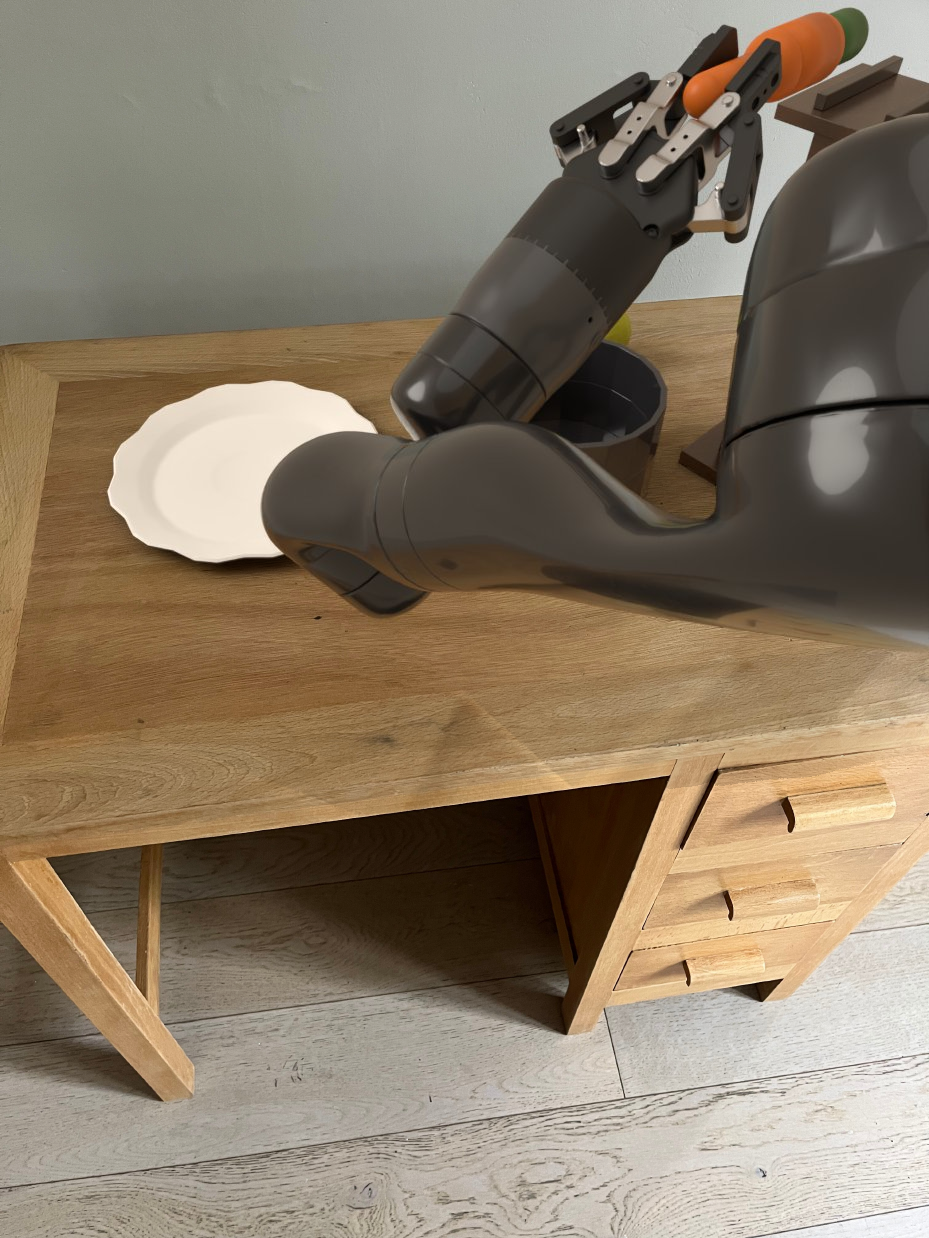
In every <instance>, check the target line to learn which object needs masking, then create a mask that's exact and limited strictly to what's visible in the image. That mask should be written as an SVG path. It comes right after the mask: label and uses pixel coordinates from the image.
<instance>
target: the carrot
mask: <svg viewBox="0 0 929 1238" xmlns="http://www.w3.org/2000/svg"><path fill="white" fill-rule="evenodd" d="M869 27H870V26H869V21H868V18H867V16H866V15H865V14H864V12H863V11H862V10H860V9H858V8H855V7H851V6H850V7H843V8H839V9H838V10H835V11H833V12H830V13H826V12H822V11H815V12H811V13H807V14H804V15H802V16H800V17H797V18H794V19H791V20H789V21H787V22H784V23H782V24H779V25H777V26H774V27H772V28H769V29H766V30H764V31H763V32H761V33H760V34H758V35H757V36H755V37H754V38H753V40H752V41H750V42H749V44H748V46H747V47H746V49H745V51H744V53H743V54H742V55H739V56H738V57H737V58H735V59H733V60H730V61H728V62H725V63H723V64H720V65H718V66H715V67H713V68H711V69H708V70H706V71H703V72H701V73H699V74H697V75H695V76H694V77H693V78H692V79H691V80H690V81H689V82H688V83H687V85H686V87H685V90H684V93H683V105H684V108H685V110H686V112H687V113H688V116H689V117H690V118H692V119H695V120H697V119H699V118H700V117H701V116H702V115H703V114H704V113H705V112H706V111H707V109H708V108H709V107H710V106H711V105H712V104H713V103H714V102H715V101H716V100H717V99H718V98H719V97H720V96H721V95H723V94H725V89H724V88H725V87H726V86H727V84H728V83H729V82H730V81H731V80H732V78H733V77H734V76H735V75H736V73H737V72H738V71H739V70H740V69H741V67H742V66H743V65H744V64H745V63H746V61H747V60H748V59H749V58H750V56H751V55H752V54H753V53H754V52H755V50H756V49H757V48H758V47H759V45H760V44H761V43H762V42H763V41H764V39H766V38H770V39H773V40H776V41H779V42H780V43H781V55H782V80H781V83H780V86H779V87H778V88H777V89H776V91H775V92H774V93H773V94H772V96H771V97H770V98H769V99H768V100H767V102H766V103H765V104H773V103H778V102H781V101H783V100H785V99H787V98H790V97H792V96H794V95H796V94H798V93H800V92H802V91H804V90H807V89H809V88H811V87H813V86H815V85H817V84H819V83H821V82H823V81H825V80H826V79H828V77H829V76H830V75H832V74H833V73H834V71H835V70H836V69H837V67H838V66H840V65H842V64H846V63H847V62H849V61H851V60H853V59H854V58H855V57H857V56H858V55H859V54H860V52H862V50H863V49H864V47H865V45H866V43H867V41H868V37H869V32H870V28H869Z"/></svg>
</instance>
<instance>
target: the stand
mask: <svg viewBox="0 0 929 1238" xmlns="http://www.w3.org/2000/svg"><path fill="white" fill-rule="evenodd" d="M903 61H904V57H902V56H898V55H896V54H893V55H892V56H889V57H887V58H885V59H883V60H881V61H879V62H876V63H875V64H873V65H871V64H868V63H864V62H861V63H859V64H857V65H855V66H853V67H851V68H849V69H846V70H845V71H842V72H840V73H838V74H836V75H833V76H832V77H829V78H827V79H824V80H822V81H821V82H819V83H816V84H814V85H812V86H810V87H808V88H806V89H804V90H801V91H799V92H797V93H795V94H793V95H791V96H789V97H787V98H784V99H782V100H780V101H778V102H777V104H776V108H775V112H774V116H773V119H774V120H777V121H778V122H779V121H780V122H782V123H785V124H787V125H791V126H793V127H796V128H799V129H802V130H805V131H808V132H810V133H812V134H813V136H812V139H811V142H810V145H809V149H808V153H807V156H806V159H805V162H806V161H807V160H808V159H810V158H811V157H813V156H814V155H815V154H817V153H818V152H819V151H821V150H822V149H824V148H826V147H827V146H829V145H831V144H833V143H835V142H837V141H839V140H841V139H843V138H845V137H847V136H849V135H851V134H853V133H855V132H857V131H859V130H861V129H863V128H866V127H870V126H873V125H877V124H880V123H884V122H887V121H890V120H894V119H897V118H901V117H904V116H909V115H914V114H923V113H929V82H927V81H923V80H920V79H917V78H914V77H911V76H907V75H904V74H900V73H899V72H900V70H901V67H902V64H903ZM724 421H725V418H724V419H722V420H721V421H720V422H718V423H717V424H715V425H714V426H712V427H711V428H710V429H708V430H707V431H706V432H704V433H703V434H702V435H700V436H699V437H697V438H696V439H695V440H694V441H692V442H691V443H689V444H687V445H686V446H685V447H684V448H682V449H681V450H680V454H679V457H678V463H679V464H681V465H682V466H684V467H686V468H687V469H689V470H690V471H693V472H694V473H696V474H697V475H699V476H701V477H702V478H704V479H705V480H707V481H708V482H711V483H712V484H714V485H715V486H716V481H717V470H718V466H719V459H720V450H721V443H722V436H723V428H724Z"/></svg>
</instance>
